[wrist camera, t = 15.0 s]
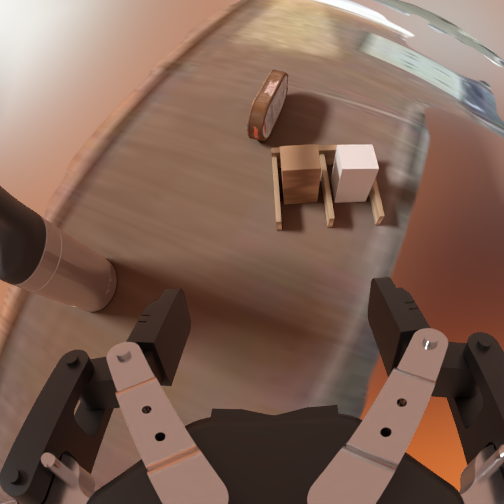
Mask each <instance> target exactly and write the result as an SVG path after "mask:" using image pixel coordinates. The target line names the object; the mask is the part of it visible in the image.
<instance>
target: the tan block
mask: <svg viewBox="0 0 504 504" xmlns="http://www.w3.org/2000/svg"><path fill="white" fill-rule="evenodd" d="M280 158H281V173H282V187H283V198H284V204H297V203H313V202H317V199H318V192H319V184H320V177H321V169H322V168H321V162H320V157H319V151H318V146H317V144H311V145H292V146H280Z"/></svg>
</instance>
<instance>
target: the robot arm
mask: <svg viewBox="0 0 504 504" xmlns="http://www.w3.org/2000/svg"><path fill="white" fill-rule="evenodd" d="M0 279H1V280H2V281H5V282H7V283H9V284H12V285H14V286H17V287H20V288H22V289H25V290H28V291H30V292H33V293H36V294H38V295H41V296H44V297H47V298H50V299H52V300H55V301H58V302H61V303H64V304H67V305H70V306H73V307H76V308H79V309H82V310H85V311H88V312H95V311H99V310H101V309H103V308H104V307H105V306H106V305H107V304H108V303H109V302H110V301H111V299H112V297H113V295H114V293H115V290H116V284H117V277H116V272H115V269H114V267H113V265H112V264H111V263H110V262H109V261H108V260H107V259H105V258H103V257H102V256H100V255H99V254H97V253H96V252H94V251H93V250H91V249H89V248H88V247H86V246H85V245H83V244H82V243H80V242H79V241H77V240H76V239H74V238H73V237H71V236H70V235H68V234H67V233H65V232H64V231H62V230H61V229H59V228H58V227H56V226H55V225H53V224H52V223H50V222H49V221H47V220H46V219H44V218H43V217H41V216H40V215H39V214H37V213H36V212H34V211H33V210H31V209H30V208H28V207H26V206H25V205H24V204H22V203H21V202H20V201H18V200H17V199H15V198H14V197H13V196H11V195H10V194H9V193H8V192H7V191H6V190H4V189H3V188H2V187H1V186H0ZM368 320H369V324H370V327H371V329H372V332H373V335H374V337H375V340H376V343H377V346H378V349H379V351H380V354H381V357H382V360H383V363H384V366H385V369H386V372H387V375H388V380H387V381H386V383H385V385H384V386H383V388H382V390H381V392H380V393H379V395H378V397H377V398H376V400H375V402H374V403H373V405H372V406H371V408H370V410H369V411H368V413H367V414H366V416H365V417H364V419H363V420H361V419H358V418H356V417H353V416H349V415H345V414H338V408H337V405H332V406H321V407H307V408H303V409H299V410H295V411H292V412H288V413H284V414H279V415H267V414H262V413H257V412H252V411H247V410H243V409H212V413H211V417H209V418H204V419H201V420H198V421H195V422H193V423H191V424H188V425H187V426H185V427H184V425H183V424H182V422H181V420H180V419H179V417H178V415H177V414H176V412H175V410H174V408H173V407H172V405H171V403H170V402H169V400H168V398H167V396H166V395H165V393H164V391H163V389H162V387H161V385H164V386H171V385H172V382H173V379H174V376H175V373H176V370H177V367H178V364H179V361H180V358H181V356H182V353H183V350H184V347H185V344H186V341H187V338H188V335H189V332H190V328H191V321H190V315H189V312H188V308H187V304H186V300H185V296H184V292H183V290H182V289H164V291H163V292H162V294H161V296H160V298H159V300H154V301H153V302H152V303H150V304H149V305H148V306H147V307H146V308H145V310H144V311H143V313H142V316H141V317H140V318H139V320H138V323H137V324H136V325H135V327H134V329H133V331H132V332H131V334H130V336H129V338H128V340H127V341H126V342H123V343H120V344H117V345H115V346H114V347H113V348H111V349H110V350H109V352H108V353H107V356H106V357H102V358H96V359H90V358H89V356H88V354H87V353H86V352H85V351H83V350H73V351H70V352H68V353H66V354H65V355H64V356H63V357H62V358H61V359H60V360H59V362H58V364H57V365H56V367H55V369H54V370H53V372H52V374H51V375H50V377H49V379H48V381H47V382H46V384H45V386H44V387H43V389H42V391H41V393H40V394H39V396H38V398H37V400H36V402H35V403H34V405H33V407H32V409H31V411H30V413H29V415H28V416H27V418H26V420H25V422H24V424H23V426H22V428H21V430H20V432H19V434H18V436H17V438H16V440H15V442H14V444H13V446H12V448H11V450H10V453H9V455H8V457H7V459H6V461H5V463H4V466H3V468H2V470H1V473H0V484H1V487H2V489H3V490H4V491H5V492H6V493H7V494H8V495H10V496H11V497H13V498H14V499H16V500H17V501H18V502H20V503H21V504H504V352H503V350H502V349H501V347H500V345H499V343H498V342H497V341H496V339H495V338H494V337H492V336H491V335H489V334H486V333H481V332H478V333H474V334H472V335H471V336H470V337H469V338H468V341H467V343H454V342H448V340H447V338H446V336H445V335H444V334H443V333H441V332H440V331H438V330H435V329H431V328H430V326H429V325H428V323H427V321H426V319H425V318H424V316H423V314H422V313H421V311H420V310H419V309H418V306H417V304H416V303H415V301H414V299H413V298H412V296H411V295H410V293H408V292H407V291H405V290H404V289H403V288H396V287H395V285H394V283H393V281H392V280H391V278H390V277H384V278H373V279H372V281H371V288H370V297H369V305H368ZM431 396H435V397H447V400H448V403H449V406H450V409H451V412H452V415H453V418H454V421H455V424H456V427H457V430H458V434H459V437H460V440H461V444H462V447H463V451H464V454H465V458H466V462H467V467H466V468H465V469H464V470H463V472H462V475H461V479H460V483H461V488H460V492H458V490H456V489H455V488H454V487H453V486H452V485H451V484H449V483H448V482H446V481H445V480H444V479H442V478H441V477H439V476H438V475H436V474H435V473H434V472H432V471H431V470H429V469H428V468H427V467H425V466H424V465H422V464H421V463H420V462H418V461H417V460H416V459H414V458H413V457H412V456H410V455H409V454H407V453H406V452H405V451H406V450H407V448H408V445H409V443H410V442H411V440H412V437H413V435H414V433H415V431H416V429H417V427H418V425H419V423H420V420H421V418H422V416H423V414H424V411H425V409H426V407H427V404H428V402H429V399H430V397H431ZM78 400H80V401H81V402H80V405H79V407H78V409H77V411H76V413H75V416H74V409H75V407H76V405H77V402H78ZM119 407H120V408H121V411H122V413H123V416H124V418H125V421H126V423H127V426H128V428H129V431H130V433H131V435H132V438H133V440H134V442H135V445H136V447H137V449H138V451H139V454H140V456H141V458H142V459H141V460H140V461H138V462H137V463H136V464H134V465H133V466H132V467H130V468H129V469H127V470H126V471H125V472H123V473H122V474H120V475H119V476H117V477H116V478H115V479H113V480H112V481H110V482H109V483H107V484H106V485H104V486H103V487H101V488H100V489H98V490H97V491H96V492H95V482H94V479H93V477H92V476H91V472H92V469H93V466H94V462H95V459H96V456H97V454H98V451H99V448H100V445H101V442H102V439H103V436H104V433H105V431H106V428H107V425H108V422H109V420H110V417H111V414H112V411H113V409H114V408H119Z"/></svg>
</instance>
